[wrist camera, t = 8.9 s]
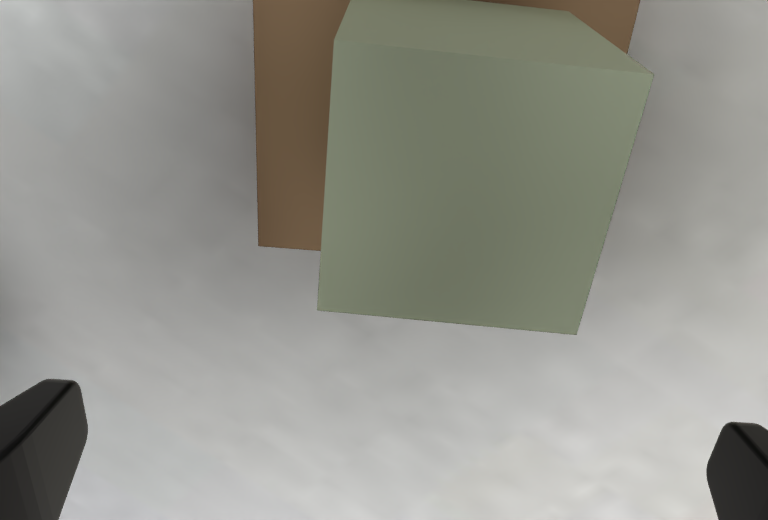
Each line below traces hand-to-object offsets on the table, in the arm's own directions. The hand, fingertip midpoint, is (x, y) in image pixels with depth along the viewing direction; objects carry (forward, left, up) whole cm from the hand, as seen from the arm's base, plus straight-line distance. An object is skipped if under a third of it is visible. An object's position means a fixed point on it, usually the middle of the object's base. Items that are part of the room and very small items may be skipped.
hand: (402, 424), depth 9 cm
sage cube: (+1, +2, -10) cm, 10 cm away
